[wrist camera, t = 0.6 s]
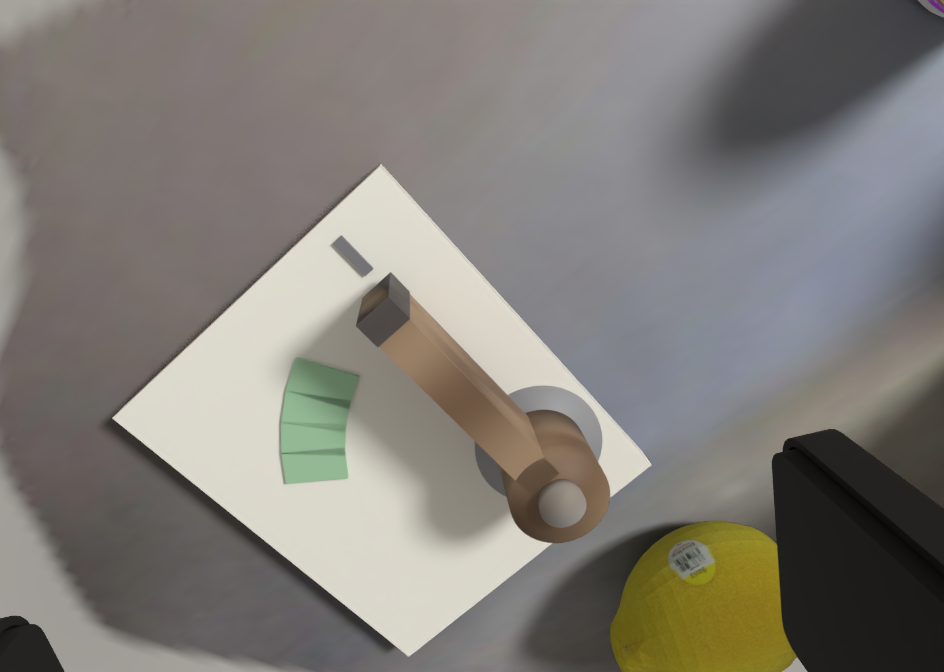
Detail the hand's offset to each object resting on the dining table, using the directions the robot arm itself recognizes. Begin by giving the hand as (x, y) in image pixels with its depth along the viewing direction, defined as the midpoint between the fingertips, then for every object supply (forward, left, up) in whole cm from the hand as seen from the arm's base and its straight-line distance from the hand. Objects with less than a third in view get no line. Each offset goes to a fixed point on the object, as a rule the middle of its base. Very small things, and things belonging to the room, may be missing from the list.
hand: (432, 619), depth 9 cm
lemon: (-23, +1, -25) cm, 34 cm away
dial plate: (-6, +7, -24) cm, 26 cm away
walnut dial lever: (-7, +2, -22) cm, 23 cm away
